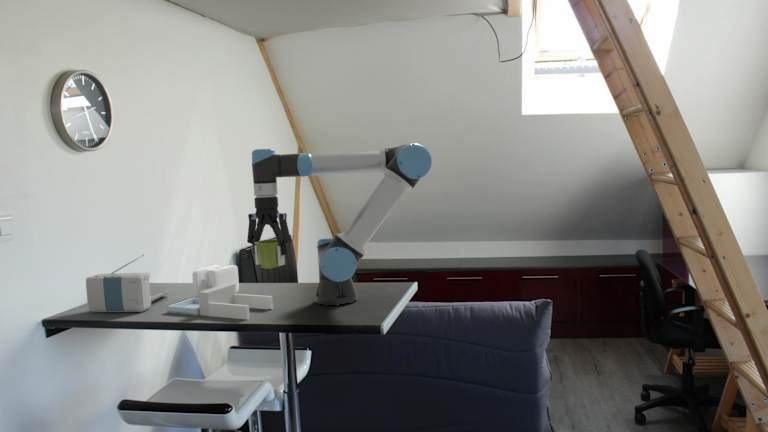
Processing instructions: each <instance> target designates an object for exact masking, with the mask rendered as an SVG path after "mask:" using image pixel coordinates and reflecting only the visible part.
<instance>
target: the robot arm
mask: <svg viewBox="0 0 768 432" xmlns="http://www.w3.org/2000/svg"><path fill="white" fill-rule="evenodd" d="M432 163H433V161H432V156H431V154H430V151H429V150H428V149H427V148H426V147H425V146H424V145H422V144H419V143H416V142H410V143H407V144H402V145H399V146H394V147H389V148H388V147H387V148H381V149H380V151H379V150H378V151H361V152H359V151H355V152H328V153H326V152H325V153H304V152H301V153H285V154H276V151H275V149H274V148H260V149H259V148H257V149H254V150H253V151H252V152H251V167H252V168H251V169H252V178H253V179H252V181H253V196H255V197H254V208H255V209H256V210H255V212H254V213H252V212H251V213H248V215H247V217H248V228H247V229H248V231H247V238H246V239H247V243H248V244H251V245H252V250H253V255H255V256H254V258H255V265H257V266H260V265H261V264H260V259H259V254H258V250H257V248H256V244H255V243H254V242H256V241H261V238H262V235H263V232H264V228H265V227H266V225H268V226H269V227H270V228H271V230H272V231H273V233H274V237H275V239H277V240H278V243H279V245H278V246H277V250H278V266H279V267H280V266H284V265H286V257H285V256H286V255H287V248H286V247H287V244H290V243H291V242H292V240H291V239H292V238H291V235H290V231H289V226H288V221H287V216H288V215H287V213H286V212H284V213H283V212H282V213H281V212H279V209H278V208H279V198H278V197H277V195H278V194H279V193H278V183H277V182H278V181H277V179H278V178H294V177H296V178H297V177H299V178H301V177H302V178H305V177H310V176H322V175H323V176H325V175H329V176H330V175H332V176H333V175H351V174H352V175H353V174H355V175H357V174H379V173H380V174H381V175H382V176H384V177H383V178H382V180H381V181H380V182H379V184H378V185H377V186H376V188H375V189H374V190H373V192H372V193H371V194H370V195H369V197H368V199H367V200H366V201H365V203H364V204H363V205H362V207H361V208H360V210H359V211H358V213H357V214H356V215H355V217H354V218H353V219H352V220H351V222H350V223H349V225H347V227H346V229H345V230H344V231H343V232H342V233H341V232H340V233H337V234H335V236H334V237H333V238H331V237H329V238H319V239H318V240H317V246H316V249H317V259H318V260H317V261H318V262H317V263H318V281H319V282H318V283H317V289H316V292H315V297H314V298H315V303H316V304H317V303H318V304H317V305H320V304H323V305H322V306H328V305H335V306H338V305H337V304H345V303H350V302H353V301H355V300H357V301H358V292H357V290H356V287H355V283H354V282H353V280H352V277H353V275H354V274H355V272H356V270H357V266H358V264H359V263H360V261H361V260H362V258H363V257H364V256H365V247H366V246H367V245H368V243H369V241H371V238H372V237H373V236H374V234H375V233H376V232H377V230H378V229H380V226H381V225H382V224H383V222H384V221H385V220H386V219H387V217H388V216H389V214H390V213H391V211H392V210H393V208H395V206H396V204H398V202H399V201H400V199H401V198H402V197H403V195H404V194H405V192H407V191H410V190H413V189H414V188H415V187H416V185H417V184H418V182H419V181H420V180H421V179H422V178H424V177H426V175H427V174H428V173H429V171H430V170H431V167H432ZM355 302H356V301H355ZM353 303H354V302H353ZM350 304H351V303H350ZM345 305H346V304H345Z"/></svg>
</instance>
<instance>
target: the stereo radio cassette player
mask: <svg viewBox="0 0 768 432" xmlns="http://www.w3.org/2000/svg"><path fill="white" fill-rule="evenodd" d="M144 256H145V254H142V255H140V256H139V257H137V258H135V259H133V260H132V261H129V262H128V263H126V264H124V265H122V266H121V267H119V268H117V269H116V270H114V271H112V272H111V273H98V274H94V275H92V276H88V277H86V278H85V289H86V299H87V301H86V302H87V307H88V311H90V312H91V313H94V314H95V313H143V312H145V311H147V310H148V309H150V308H151V306H152V297H151V285H150V277H151V276H150V273H149V272H130V273H129V272H128V273H127V272H126V273H124V272H123V273H121V272H120V273H119V272H118V271H120V270H122V269H124V268H126V267H127V266H129V265H130V264H132V263H134V262H135V261H136V260H138V259H140V258H141V257H144Z"/></svg>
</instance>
